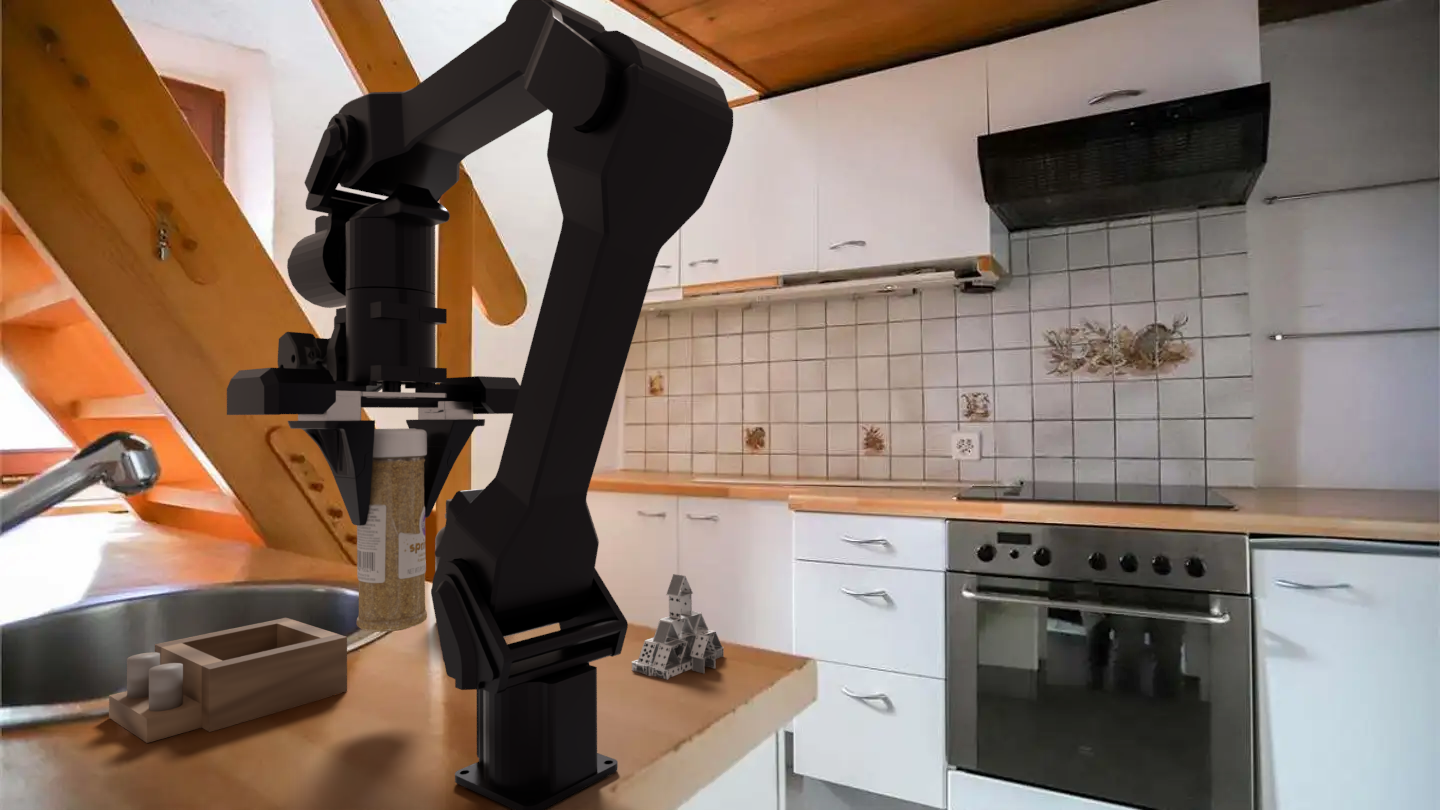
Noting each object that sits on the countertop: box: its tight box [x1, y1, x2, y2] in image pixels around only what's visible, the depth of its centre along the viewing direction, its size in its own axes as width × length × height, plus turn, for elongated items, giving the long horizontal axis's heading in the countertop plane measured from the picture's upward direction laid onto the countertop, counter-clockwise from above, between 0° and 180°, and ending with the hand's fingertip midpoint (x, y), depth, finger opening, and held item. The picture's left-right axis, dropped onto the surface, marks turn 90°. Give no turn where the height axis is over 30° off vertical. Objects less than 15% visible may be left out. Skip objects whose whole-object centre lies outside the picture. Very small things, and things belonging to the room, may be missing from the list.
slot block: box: [108, 617, 348, 744], centre depth 56 cm, size 10×12×4 cm
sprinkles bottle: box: [356, 427, 428, 633], centre depth 54 cm, size 5×5×14 cm
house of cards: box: [631, 573, 725, 681], centre depth 61 cm, size 9×9×8 cm
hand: (391, 521), depth 54 cm, fingers closed on sprinkles bottle, 4 cm apart
